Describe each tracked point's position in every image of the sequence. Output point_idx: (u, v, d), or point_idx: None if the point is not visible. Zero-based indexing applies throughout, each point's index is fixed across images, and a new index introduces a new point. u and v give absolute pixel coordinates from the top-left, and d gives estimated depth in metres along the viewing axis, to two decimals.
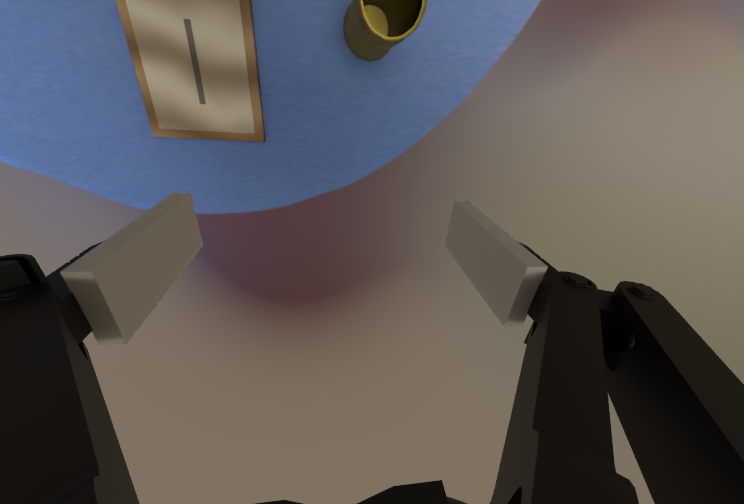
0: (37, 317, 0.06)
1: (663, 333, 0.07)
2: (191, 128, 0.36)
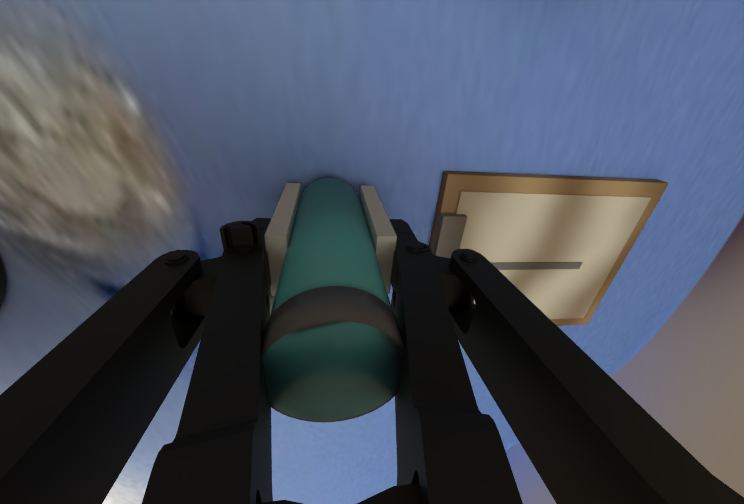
0: (251, 271, 0.09)
1: (492, 292, 0.09)
2: (598, 284, 0.24)
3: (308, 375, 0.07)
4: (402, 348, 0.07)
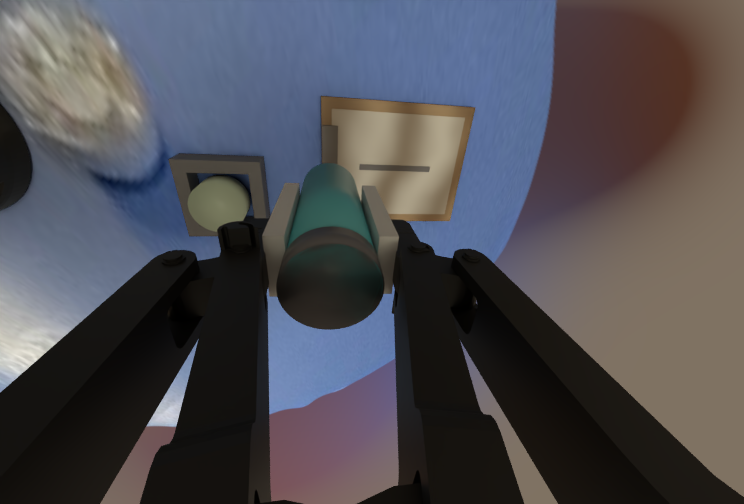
0: (248, 271, 0.09)
1: (495, 292, 0.09)
2: (448, 186, 0.35)
3: (313, 287, 0.10)
4: (379, 268, 0.10)
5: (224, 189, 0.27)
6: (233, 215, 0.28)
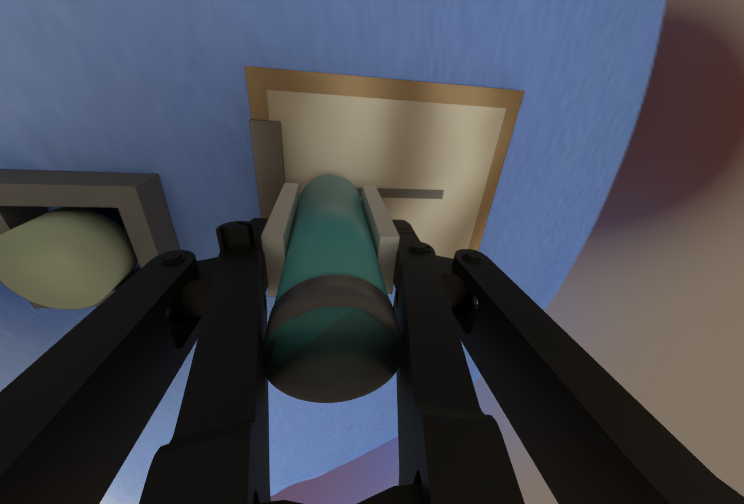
0: (247, 271, 0.09)
1: (495, 292, 0.09)
2: (472, 220, 0.22)
3: (310, 357, 0.07)
4: (397, 332, 0.07)
5: (56, 239, 0.14)
6: (87, 282, 0.16)
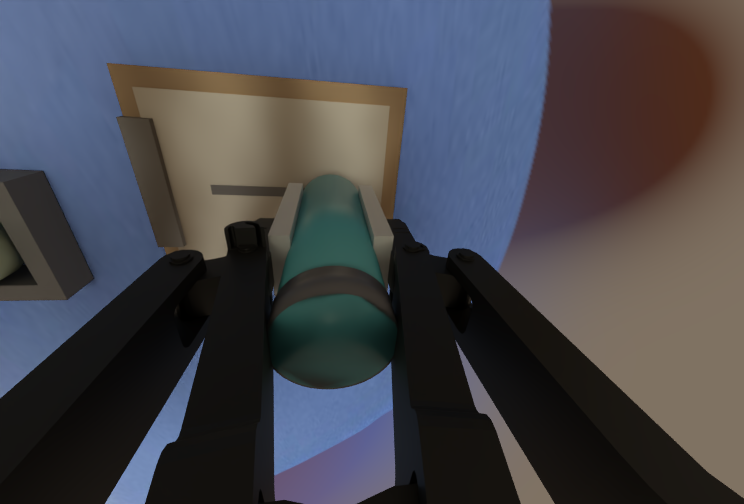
0: (254, 271, 0.09)
1: (489, 292, 0.09)
2: None
3: (311, 344, 0.08)
4: (393, 319, 0.08)
5: None
6: None
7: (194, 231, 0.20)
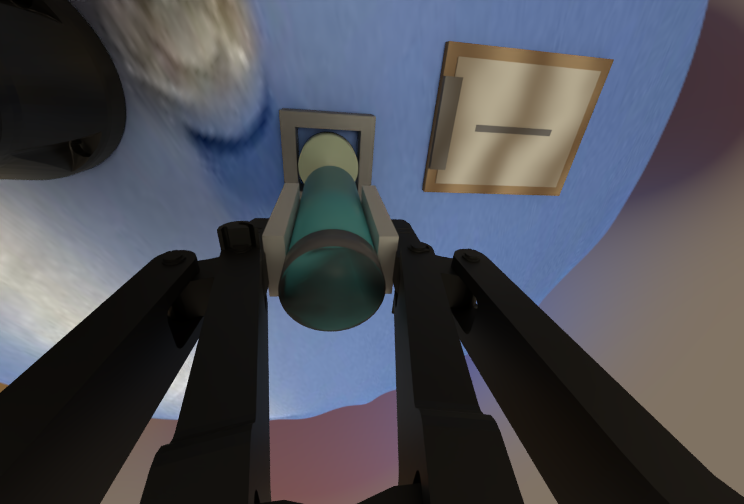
0: (248, 271, 0.09)
1: (495, 292, 0.09)
2: (565, 154, 0.31)
3: (315, 290, 0.10)
4: (379, 268, 0.10)
5: (341, 144, 0.24)
6: None
7: (452, 159, 0.29)
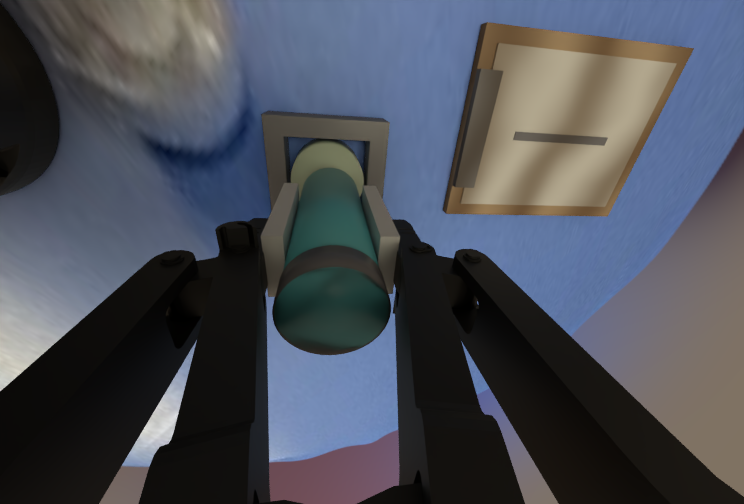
0: (247, 271, 0.09)
1: (496, 292, 0.09)
2: (620, 167, 0.25)
3: (313, 313, 0.09)
4: (384, 289, 0.09)
5: (342, 154, 0.19)
6: None
7: (483, 174, 0.23)
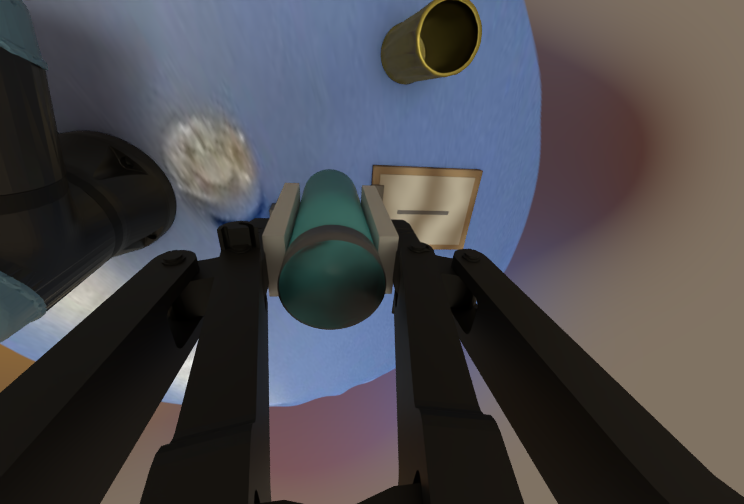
0: (248, 271, 0.09)
1: (495, 292, 0.09)
2: (462, 224, 0.46)
3: (314, 287, 0.10)
4: (377, 259, 0.10)
5: None
6: None
7: None
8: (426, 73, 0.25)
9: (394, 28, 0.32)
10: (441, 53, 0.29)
